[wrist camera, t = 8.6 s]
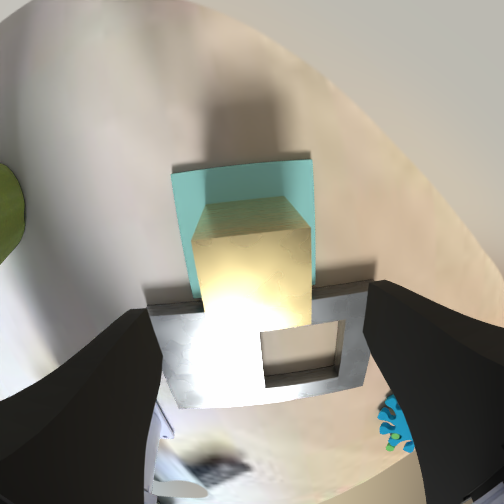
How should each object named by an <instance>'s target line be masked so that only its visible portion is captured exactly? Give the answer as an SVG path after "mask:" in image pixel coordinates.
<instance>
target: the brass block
mask: <svg viewBox="0 0 504 504" xmlns="http://www.w3.org/2000/svg"><path fill="white" fill-rule="evenodd" d="M191 244H192V250H193V255H194V260H195V266H196V271H197V276H198V281H199V286H200V291H201V295H202V300H203V305H204V310H205V314H206V319H207V323H208V328H209V332H210V336H220V335H231V334H241V333H250V332H259V331H267V330H275V329H283V328H290V327H297V326H304V325H310V324H311V315H312V251H311V227H310V226H309V225H308V223H307V222H306V221H305V220H304V219H303V217H302V216H301V215H300V214H299V213H298V211H297V210H296V209H295V208H294V207H293V206H292V204H291V203H290V202H289V201H288V200H287V199H286V197H285V196H277V197H267V198H257V199H248V200H239V201H230V202H222V203H214V204H206V205H205V207H204V209H203V212H202V214H201V217H200V219H199V222H198V224H197V227H196V229H195V232H194V234H193V237H192V240H191Z"/></svg>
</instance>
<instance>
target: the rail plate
mask: <svg viewBox="0 0 504 504" xmlns="http://www.w3.org/2000/svg"><path fill="white" fill-rule="evenodd" d="M369 282H375V281H374V280H373V279H372V280H366V281H360V282H353V283H347V284H340V285H333V286H326V287H319V288H312V315H311V324H310V325H314V324H320V323H327V322H333V321H338V320H339V323H338V333H337V343H336V352H335V360H334V366H329V367H324V368H319V369H313V370H307V371H301V372H295V373H288V374H281V375H273V376H265V377H264V375H263V365H262V355H261V346H260V336H259V332H263V331H259V332H250V333H241V334H231V335H220V336H210V332H209V328H208V323H207V319H206V314H205V310H204V305H203V301H197V302H185V303H173V304H161V305H147V307H146V308H147V310H148V313H149V316H150V319H151V322H152V325H153V328H154V331H155V334H156V337H157V340H158V343H159V346H160V348H161V351H162V354H163V363H162V371H163V373H164V376H165V378H166V380H167V383H168V385H169V387H170V390H171V392H172V394H173V396H174V399H175V401H176V403H177V405H178V407H179V409H194V408H219V407H234V406H246V405H256V404H265V403H274V402H281V401H288V400H295V399H301V398H307V397H313V396H318V395H323V394H328V393H333V392H338V391H342V390H347V389H351V388H355V387H359V386H363V382H364V378H365V374H366V370H367V366H368V361H369V357H370V350H369V347H368V345H367V342H366V340H365V337H364V334H363V332H362V331H363V325H364V318H365V311H366V303H367V295H368V286H369ZM304 326H308V325H304ZM297 327H301V326H297ZM290 328H294V327H290ZM283 329H287V328H283ZM275 330H279V329H275ZM267 331H271V330H267Z"/></svg>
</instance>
